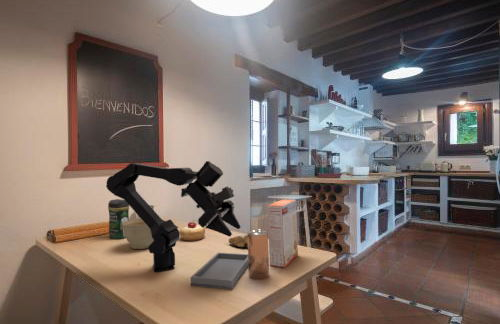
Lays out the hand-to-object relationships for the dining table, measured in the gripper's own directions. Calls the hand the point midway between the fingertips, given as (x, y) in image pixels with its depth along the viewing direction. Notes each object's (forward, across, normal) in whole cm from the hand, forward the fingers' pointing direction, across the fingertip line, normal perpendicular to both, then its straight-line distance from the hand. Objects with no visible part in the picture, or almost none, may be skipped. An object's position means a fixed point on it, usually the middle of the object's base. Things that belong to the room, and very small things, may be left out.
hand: (235, 231), depth 89 cm
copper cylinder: (+15, 0, +4) cm, 15 cm away
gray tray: (+6, 0, +12) cm, 14 cm away
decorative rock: (+6, +30, +13) cm, 33 cm away
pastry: (-13, +36, +33) cm, 50 cm away
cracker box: (+19, +14, 0) cm, 24 cm away
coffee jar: (-40, +32, +59) cm, 78 cm away
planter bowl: (-25, +21, +44) cm, 55 cm away
